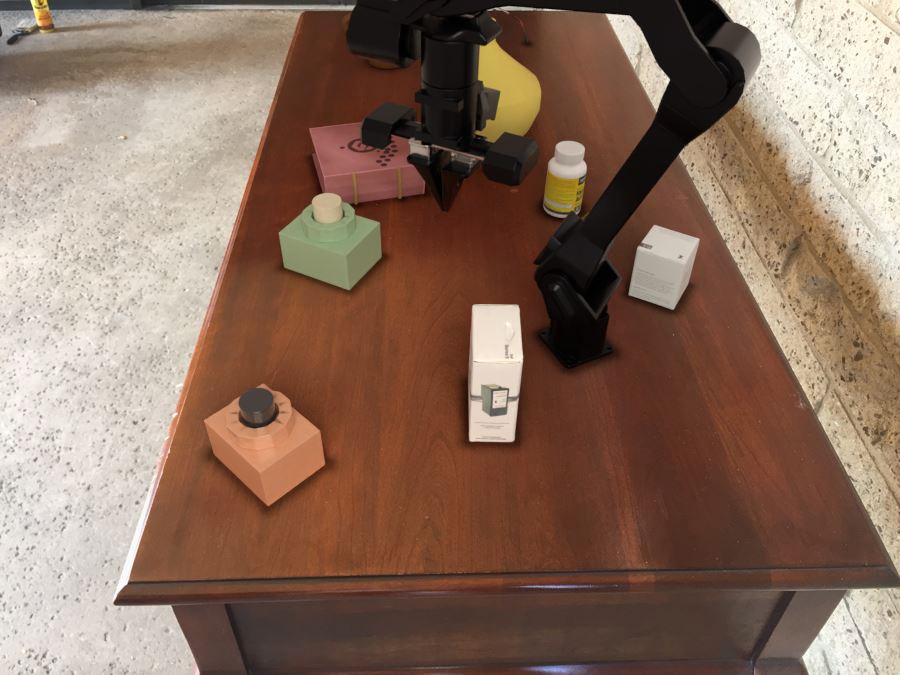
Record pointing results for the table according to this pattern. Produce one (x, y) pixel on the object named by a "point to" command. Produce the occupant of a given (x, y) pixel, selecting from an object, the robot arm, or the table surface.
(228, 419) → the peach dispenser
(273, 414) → the dark grey push button
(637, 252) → the white cardboard box
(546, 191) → the supplement bottle
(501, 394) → the ink box
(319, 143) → the book
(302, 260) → the green push button box
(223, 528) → the table surface
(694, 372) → the table surface
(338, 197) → the beige push button
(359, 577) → the table surface
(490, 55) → the vase
